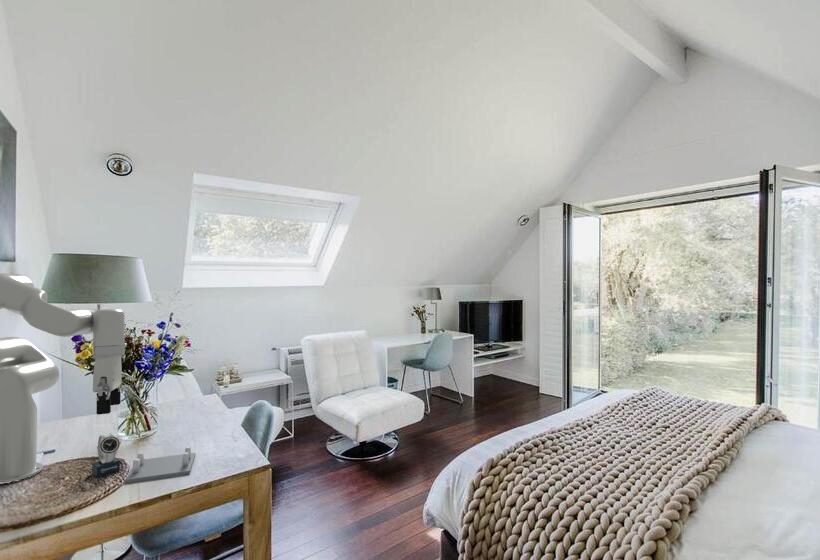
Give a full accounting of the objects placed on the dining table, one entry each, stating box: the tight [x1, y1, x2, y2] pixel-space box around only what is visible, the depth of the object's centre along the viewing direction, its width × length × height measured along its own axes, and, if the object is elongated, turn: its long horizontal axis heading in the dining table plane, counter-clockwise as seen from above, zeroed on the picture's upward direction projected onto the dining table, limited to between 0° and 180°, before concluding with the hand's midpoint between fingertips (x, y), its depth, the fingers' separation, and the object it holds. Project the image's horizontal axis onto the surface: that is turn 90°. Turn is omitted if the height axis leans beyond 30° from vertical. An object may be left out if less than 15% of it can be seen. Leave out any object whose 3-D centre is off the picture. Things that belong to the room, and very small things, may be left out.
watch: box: [91, 433, 122, 479], centre depth 121 cm, size 6×8×11 cm
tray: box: [124, 446, 196, 484], centre depth 123 cm, size 16×14×4 cm
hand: (109, 409), depth 121 cm, fingers open, 9 cm apart
